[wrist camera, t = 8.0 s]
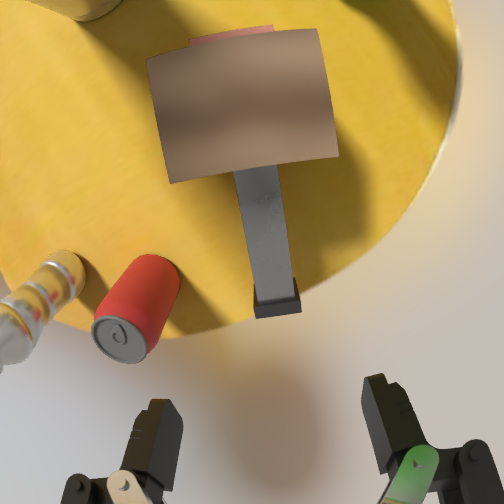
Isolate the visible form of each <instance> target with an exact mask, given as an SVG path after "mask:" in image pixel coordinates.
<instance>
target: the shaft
mask: <svg viewBox="0 0 504 504" xmlns="http://www.w3.org/2000/svg"><path fill="white" fill-rule="evenodd" d="M233 174H234V179H235V184H236V189H237V195H238V200H239V205H240V211H241V216H242V221H243V226H244V232H245V237H246V242H247V247H248V252H249V258H250V263H251V268H252V273H253V279H254V304H253V307H254V312H255V317H256V319H259V318H266V317H274V316H280V315H287V314H294V313H300V312H302V311H301V301H300V296H299V292H298V288H297V283H296V279H295V277H294V278H293V277H292V268H291V260H290V252H289V245H288V237H287V230H286V222H285V215H284V208H283V201H282V194H281V188H280V181H279V174H278V168H277V164H276V165H269V166H262V167H256V168H250V169H244V170H238V171H233Z"/></svg>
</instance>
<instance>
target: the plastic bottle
mask: <svg viewBox="0 0 504 504" xmlns="http://www.w3.org/2000/svg"><path fill="white" fill-rule="evenodd" d="M85 281H86V274H85V268H84V266H83V263H82V262H81V260H80V259H79V258H78V257H77V256H76V255H75V254H74V253H72V252H69V251H66V250H59V251H56V252H54V253H52V254H50V255H49V256H48V257H47V258H46V259H45V260H44V261H43V262H42V264H41V265H40V267H39V268H38V269H37V270H36V272H35V273H34V274H33V275H32V276H31V277H30V278H29V279H28V280H27V281H26V282H25V283H24V284H22V285H21V286H20V287H19V288H17V289H16V290H15V291H14V292H12V293H11V294H9V295H8V296H6V297H5V298H3V299H2V300H0V373H1V372H2V371H3V365H9V364H16V363H21V362H22V361H24V360H25V359H27V358H28V357H29V356H30V354H31V352H32V351H33V349H34V347H35V345H36V343H37V341H38V340H39V338H40V335H41V334H42V332H43V331H44V329H45V328H46V326H47V325H48V324H49V322H50V321H51V319H52V318H53V317H54V316H55V315H56V314H57V313H58V312H59V311H60V310H61V309H62V308H63V307H64V306H65V305H67V304H68V303H70V302H71V301H73V300H74V299H75V298H76V297H78V295H79V294H80V293H81V291H82V289H83V287H84V285H85Z"/></svg>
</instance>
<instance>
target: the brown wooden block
mask: <svg viewBox="0 0 504 504" xmlns="http://www.w3.org/2000/svg"><path fill="white" fill-rule="evenodd" d="M146 63H147V70H148V76H149V82H150V88H151V94H152V99H153V105H154V110H155V116H156V121H157V126H158V131H159V136H160V141H161V145H162V150H163V155H164V159H165V164H166V169H167V173H168V177H169V182H170V184H173V183H177V182H182V181H187V180H191V179H196V178H201V177H206V176H211V175H216V174H222V173H227V172H233V171H238V170H244V169H250V168H256V167H262V166H269V165H276V164H283V163H290V162H297V161H305V160H313V159H322V158H331V157H339V152H338V144H337V136H336V129H335V122H334V115H333V108H332V102H331V96H330V90H329V85H328V79H327V74H326V69H325V64H324V59H323V54H322V50H321V45H320V41H319V36H318V32H317V29H296V30H283V31H273V32H264V33H256V34H249V35H242V36H236V37H231V38H225V39H220V40H215V41H210V42H206V43H201V44H197V45H193V46H189V47H185V48H181V49H178V50H174V51H171V52H167V53H164V54H161V55H157V56H154V57H151V58H148V59H146Z"/></svg>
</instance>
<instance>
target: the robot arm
mask: <svg viewBox="0 0 504 504" xmlns="http://www.w3.org/2000/svg"><path fill="white" fill-rule="evenodd" d="M26 1H29V2H32V3H35V4H37V5H40V6H42V7H45V8H48V9H50V10H52V11H55V12H57V13H60V14H62V15H64V16H67V17H69V18H71V19H73V20H76V21H80V22H86V21H91V20H94V19H97V18H99V17H101V16H103V15H105V14H107V13H108V12H109V11H111V10H112V9H114V8H115V7H116V6H117V5H118V4H119V3H120V2H121V1H122V0H26ZM361 404H362V409H363V414H364V417H365V420H366V424H367V427H368V431H369V434H370V438H371V441H372V445H373V448H374V452H375V456H376V460H377V464H378V467H379V471H380V474H384V473H388V475H389V479H390V480H389V482H388V484H387V486H386V488H385V490H384V492H383V493H382V496H381V497H380V499H379V501H378V503H377V504H422V503H423V501H424V498H425V496H426V494H427V493H428V492H437V493H438V497H439V502H440V504H504V490H503V487H502V484H501V480H500V477H499V474H498V471H497V468H496V466H495V463H494V460H493V457H492V454H491V452H490V450H489V447H488V445H487V444H486V443H485V442H484V441H482V440H478V439H474V440H470V441H468V442H467V443H466V444H465V445H463V447H459V448H451V449H437V448H435V447H433V446H431V445H430V444H429V443H428V442H427V441H426V439H425V436H424V434H423V432H422V429H421V427H420V424H419V422H418V419H417V417H416V414H415V412H414V411H413V407H412V405H411V403H410V402H409V398H408V396H407V393H406V391H405V390H404V389H403V388H402V387H401V386H400V385H399V384H398V383H397V382H395V383H391V384H388V383H387V380H386V378H385V376H384V374H383V373H380V374H376V375H372V376H368V377H365V378H364V384H363V391H362V398H361ZM182 433H183V421H182V418H181V416H180V415H179V413H178V412H177V410H176V408H175V407H174V405H173V404H172V402H171V400H169V399H152V400H151V401H150V404H149V406H148V410H142V411H141V413H140V414H139V415H138V416H137V418H136V419H135V422H134V425H133V431H132V432H131V435H130V439H129V441H128V445H127V448H126V451H125V455H124V458H123V462H122V465H121V468H120V469H119V470H118V471H115V472H113V473H112V474H111V475H110V476H109V477H107V478H98V479H89V478H88V477H86V476H85V475H83V474H74V475H72V476H70V477H69V478H68V480H67V482H66V485H65V489H64V492H63V496H62V500H61V504H167V503H166V501H165V500H164V498H163V497H162V496H163V491H172V490H173V484H174V477H175V472H176V466H177V461H178V455H179V449H180V444H181V439H182Z"/></svg>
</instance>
